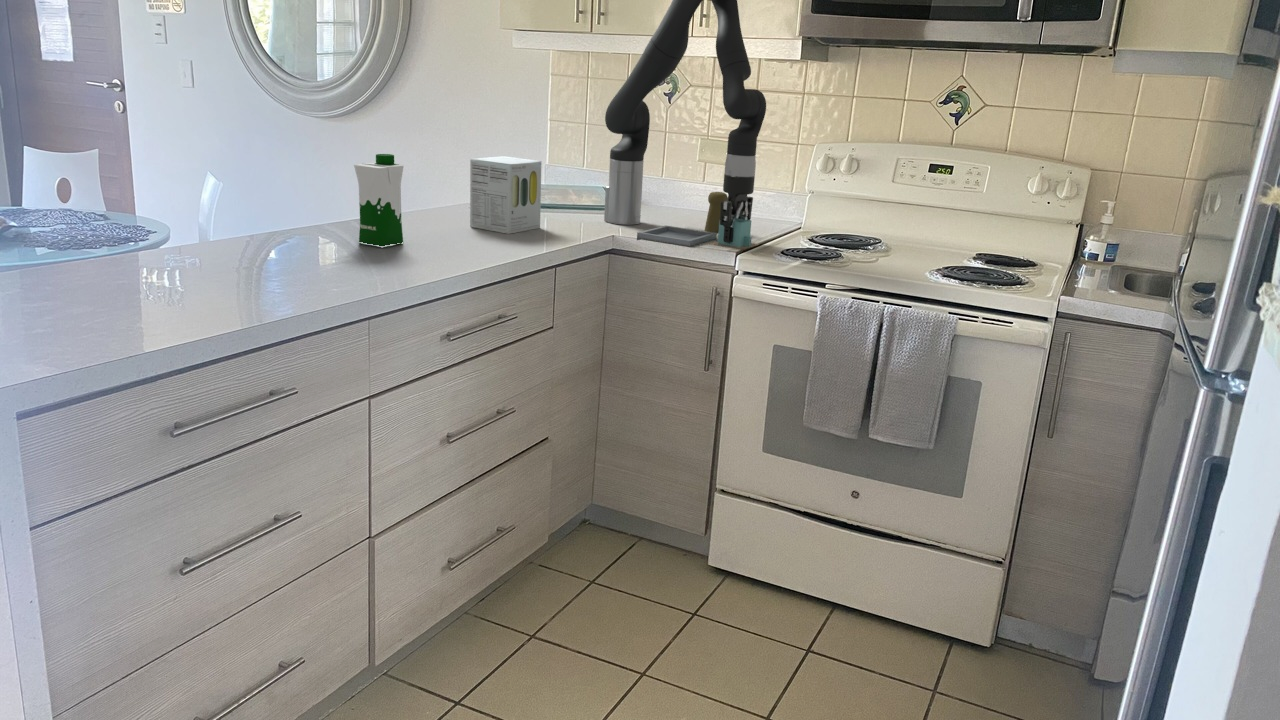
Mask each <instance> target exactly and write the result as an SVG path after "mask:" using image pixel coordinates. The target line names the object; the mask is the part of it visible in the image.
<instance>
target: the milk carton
mask: <svg viewBox="0 0 1280 720" xmlns="http://www.w3.org/2000/svg"><path fill="white" fill-rule="evenodd" d="M353 166H354V170H355V175H356V178H357V183H358V202H359V203H358V204H359V233H358V234H359V237H358V243H359V242H363V243H367V244H373V245H379V246H385V245H390V244H397V243H402V242H403V243H404V236H403V235H404V234H403V233H404V232H403V224H402V192H401V191H402V188H401V186H402V178H403V172H404V165H402V164H400V163H399V164H397V163H395V154H391V153H390V154H389V153H377V154H375V162H363V163H361V164H358V163H357V164H353Z"/></svg>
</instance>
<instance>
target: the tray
mask: <svg viewBox="0 0 1280 720" xmlns="http://www.w3.org/2000/svg"><path fill="white" fill-rule="evenodd" d="M717 239H718V233H712V232H707V231H705V230H698V229H690V228H684V227H677V226H671V225H663V226H658V227H655V228H650V229H646V230H643V231H642V230H641V231H639V232H637V233H636V241H640V240H645V241H652V242H658V243H664V244H670V245H676V246H682V247H689V248H690V247H694V246H696V245H700V244H703V243H707V242H710V241H711V242H712V241H713V240H714V241H715V240H717Z"/></svg>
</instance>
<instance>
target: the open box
mask: <svg viewBox="0 0 1280 720" xmlns="http://www.w3.org/2000/svg"><path fill="white" fill-rule="evenodd" d="M731 221H732V219H731ZM733 228H734V230H733V241H732V242H731V243H727V242H724V241H723V239H724V227H723V225H720V220H719V232H718V233H717V241H718V244H721V245H727V246H733V247H742V246H746V247H750V246H751V243H752V239H753V236H751V231H752V220H751V219H750V220H744V219H737V220H736V221H735V224H734V227H733Z"/></svg>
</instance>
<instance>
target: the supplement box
mask: <svg viewBox="0 0 1280 720" xmlns="http://www.w3.org/2000/svg"><path fill="white" fill-rule="evenodd" d="M469 161H470V163H469V164H470V165H469V166H470V177H469V179H470V180H469V182H470V184H469V185H470V186H469V187H470V190H469V192H470V193H469V194H470V197H469V200H470V201H469V203H470V204H469V205H470V207H469V210H470V211H469V217H470V220H469V223H470V225H469V227H471V228H475V229H480V230H486V231H492V232H496V233H502V234H507V235H509V234H514V233H519V232H520V233H521V232H526V231H532V230H537V229H540V228H541V203H542V201H541V200H542V199H541V197H542V195H541V194H542V193H541V192H542V160H536V159H529V158H521V157H513V156H504V155H501V156H490V157H478V158H477V157H475V158H470V160H469Z"/></svg>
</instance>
